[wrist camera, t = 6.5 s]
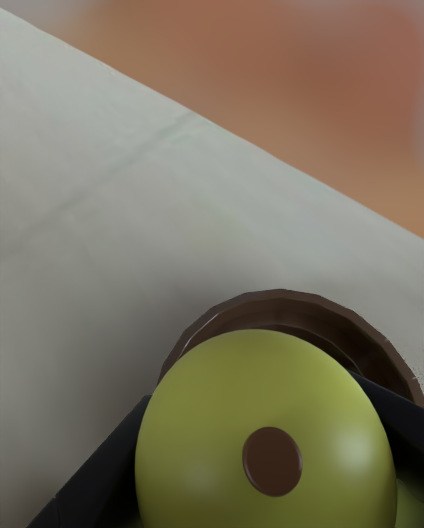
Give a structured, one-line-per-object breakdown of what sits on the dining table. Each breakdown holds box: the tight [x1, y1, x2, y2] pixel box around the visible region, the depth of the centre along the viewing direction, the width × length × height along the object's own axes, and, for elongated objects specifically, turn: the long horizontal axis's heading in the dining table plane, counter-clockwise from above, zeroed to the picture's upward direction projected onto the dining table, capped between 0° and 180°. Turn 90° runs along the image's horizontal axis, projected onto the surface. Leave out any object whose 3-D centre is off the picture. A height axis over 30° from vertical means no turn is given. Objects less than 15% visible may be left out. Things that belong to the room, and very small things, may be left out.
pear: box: [135, 329, 398, 528], centre depth 9 cm, size 7×7×12 cm
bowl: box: [156, 289, 424, 408], centre depth 18 cm, size 14×14×5 cm
